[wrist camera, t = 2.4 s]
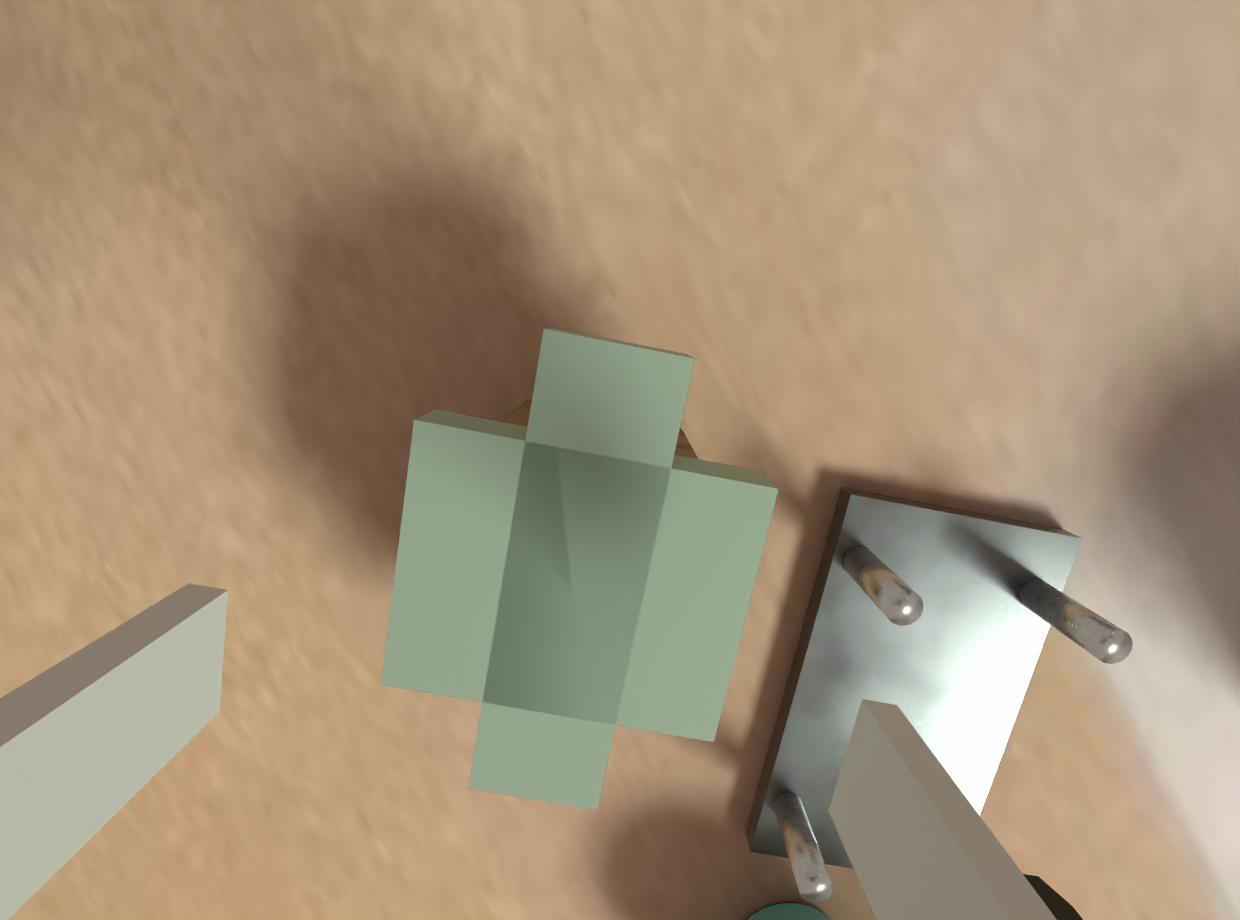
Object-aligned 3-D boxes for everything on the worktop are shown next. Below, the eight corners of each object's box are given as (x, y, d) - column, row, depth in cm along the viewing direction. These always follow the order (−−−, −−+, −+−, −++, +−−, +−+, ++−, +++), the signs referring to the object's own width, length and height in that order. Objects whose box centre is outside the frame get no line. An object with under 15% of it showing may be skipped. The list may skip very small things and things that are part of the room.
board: (448, 307, 18) (428, 305, 16) (787, 373, 19) (806, 380, 17) (393, 730, 21) (370, 772, 19) (685, 780, 22) (692, 825, 20)
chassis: (842, 487, 25) (896, 529, 20) (1064, 529, 25) (1171, 581, 20) (745, 832, 28) (772, 941, 23) (942, 865, 28) (1009, 979, 24)
